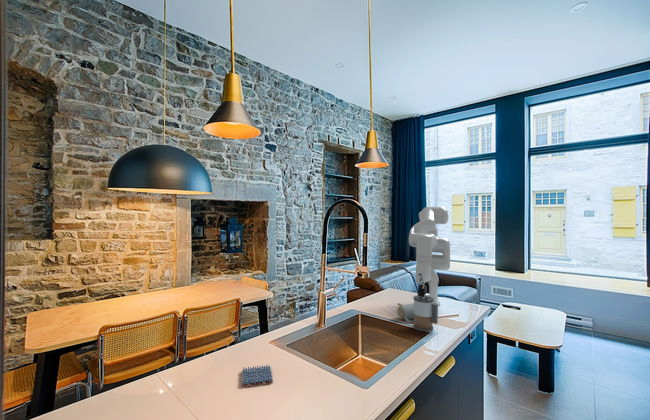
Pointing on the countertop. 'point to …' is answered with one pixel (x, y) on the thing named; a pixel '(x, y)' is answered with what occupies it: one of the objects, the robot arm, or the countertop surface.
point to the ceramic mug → (406, 312)
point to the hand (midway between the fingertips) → (423, 294)
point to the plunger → (425, 292)
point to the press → (425, 313)
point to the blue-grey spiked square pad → (254, 372)
